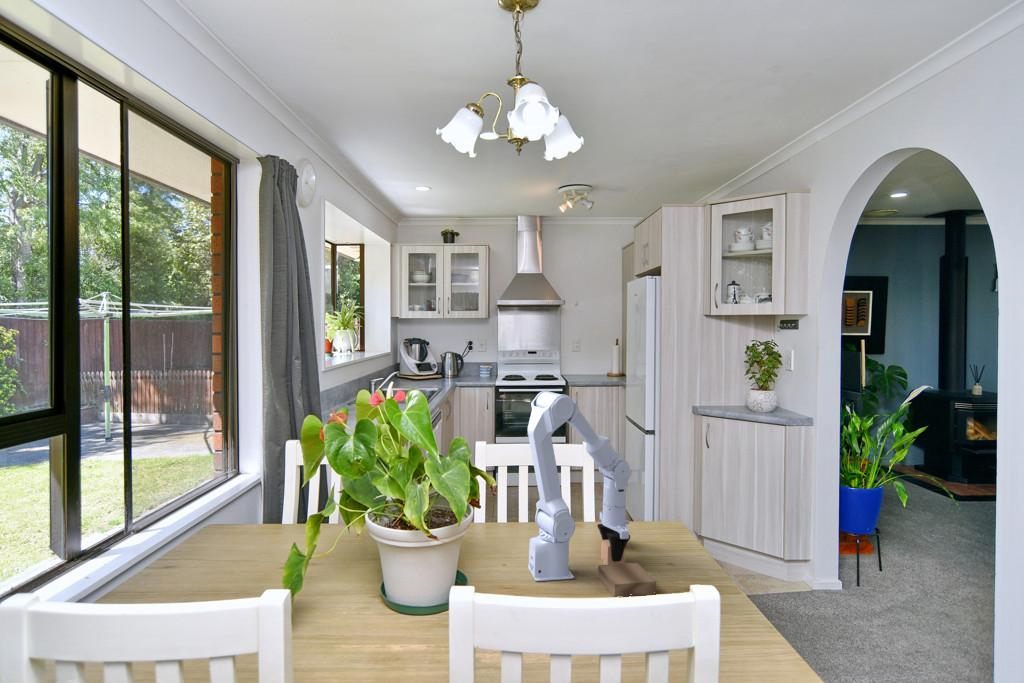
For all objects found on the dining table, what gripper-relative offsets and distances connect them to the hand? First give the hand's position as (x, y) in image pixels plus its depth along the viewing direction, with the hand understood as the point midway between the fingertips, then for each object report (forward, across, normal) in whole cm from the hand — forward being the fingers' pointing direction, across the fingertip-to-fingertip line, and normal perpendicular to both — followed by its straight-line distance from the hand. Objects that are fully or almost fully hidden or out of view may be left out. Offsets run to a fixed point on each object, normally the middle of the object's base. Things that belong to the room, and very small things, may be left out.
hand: (612, 556), depth 140 cm
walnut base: (+1, -13, +2) cm, 13 cm away
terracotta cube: (+1, 0, 0) cm, 1 cm away
